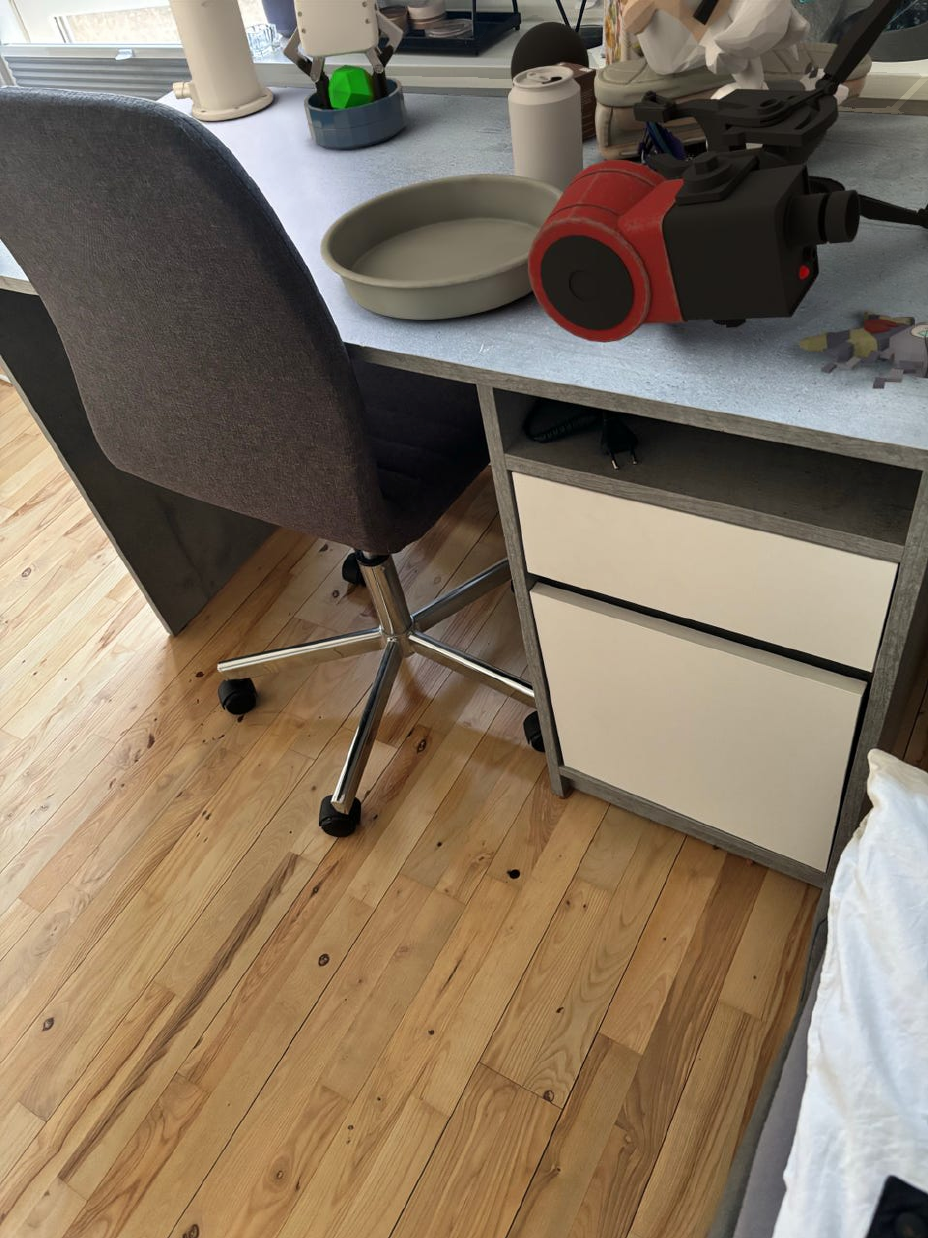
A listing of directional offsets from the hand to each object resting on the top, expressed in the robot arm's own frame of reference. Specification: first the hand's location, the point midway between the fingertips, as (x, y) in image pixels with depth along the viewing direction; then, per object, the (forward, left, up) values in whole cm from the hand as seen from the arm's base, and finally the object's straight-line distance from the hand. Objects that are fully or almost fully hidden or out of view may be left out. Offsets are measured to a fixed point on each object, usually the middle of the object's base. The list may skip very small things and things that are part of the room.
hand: (355, 106), depth 123 cm
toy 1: (+38, -24, +21) cm, 50 cm away
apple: (-2, -3, +3) cm, 5 cm away
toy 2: (+55, -57, -3) cm, 80 cm away
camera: (+52, -35, +7) cm, 63 cm away
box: (+28, -8, -4) cm, 30 cm away
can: (+29, -25, -4) cm, 38 cm away
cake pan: (+21, -43, -3) cm, 48 cm away
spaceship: (+42, -24, +1) cm, 48 cm away
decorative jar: (+40, -4, -3) cm, 41 cm away
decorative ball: (+26, +3, -4) cm, 26 cm away
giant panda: (+51, -22, -4) cm, 56 cm away
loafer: (+48, -14, +5) cm, 50 cm away
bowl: (0, 0, -3) cm, 3 cm away
